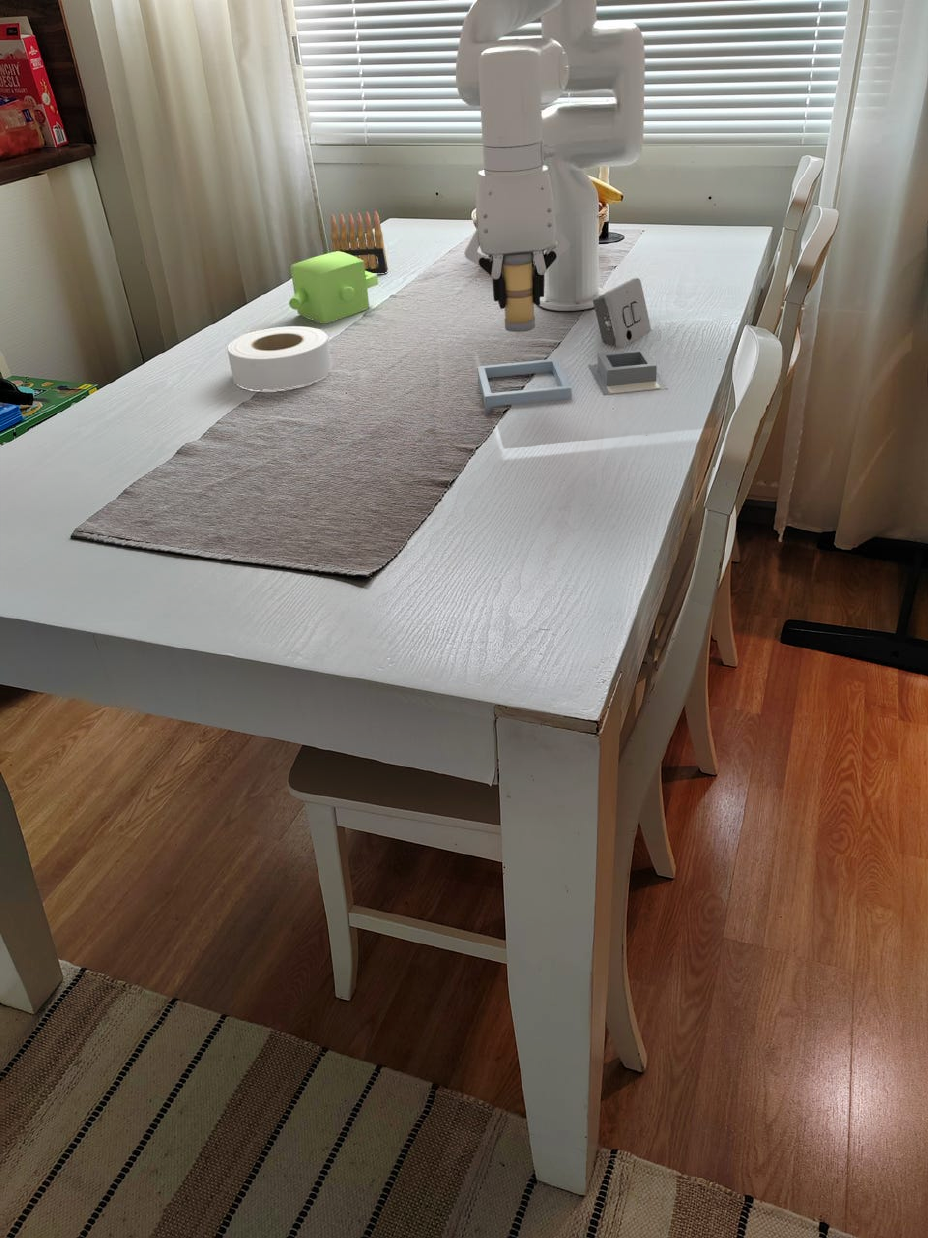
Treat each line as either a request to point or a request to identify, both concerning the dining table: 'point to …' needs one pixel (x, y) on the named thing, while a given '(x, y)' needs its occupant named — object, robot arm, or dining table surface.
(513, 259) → the fuse
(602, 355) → the grey square socket holder
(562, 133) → the robot arm
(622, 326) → the electrical switch
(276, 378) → the roll of tape
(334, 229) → the ammunition clip
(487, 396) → the tray
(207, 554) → the dining table surface
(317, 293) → the gearbox
